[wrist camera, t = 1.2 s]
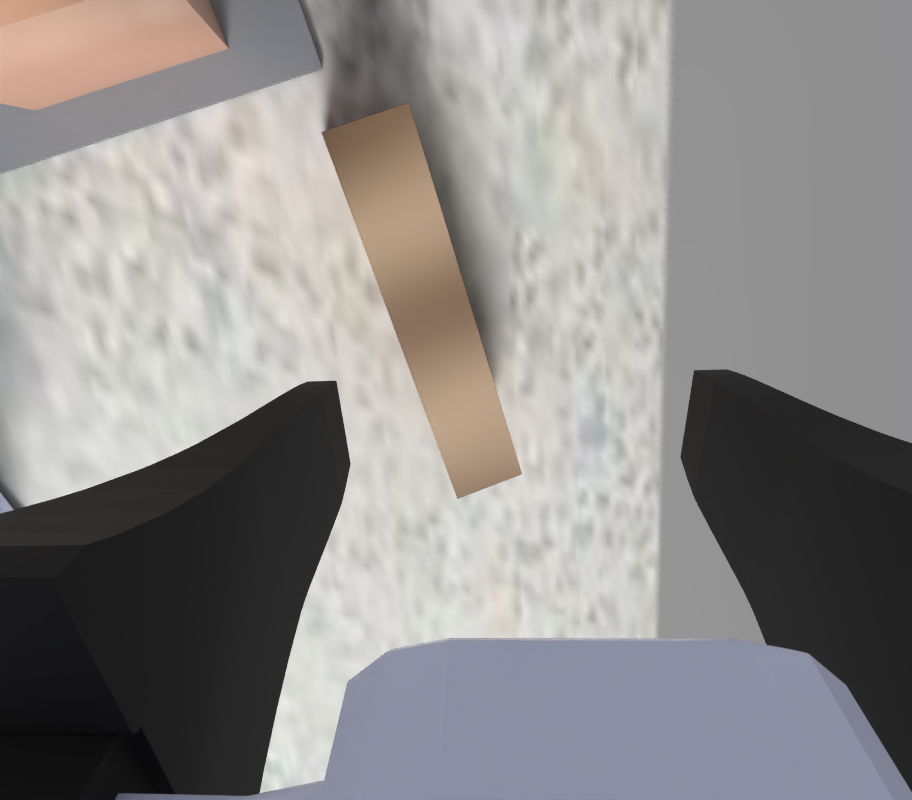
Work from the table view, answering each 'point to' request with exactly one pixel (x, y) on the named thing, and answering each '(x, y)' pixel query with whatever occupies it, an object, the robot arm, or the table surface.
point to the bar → (424, 293)
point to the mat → (170, 84)
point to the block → (96, 44)
